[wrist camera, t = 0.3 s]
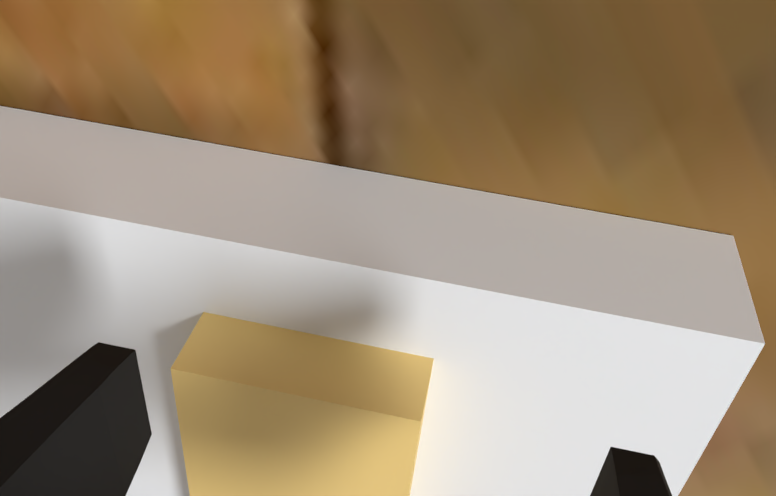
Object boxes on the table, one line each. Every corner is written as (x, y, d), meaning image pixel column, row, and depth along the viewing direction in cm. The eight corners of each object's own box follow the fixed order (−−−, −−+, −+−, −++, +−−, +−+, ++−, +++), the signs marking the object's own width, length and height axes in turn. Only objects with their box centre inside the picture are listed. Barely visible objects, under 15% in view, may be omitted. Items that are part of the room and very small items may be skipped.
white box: (594, 528, 28) (597, 635, 25) (53, 408, 30) (-7, 492, 27) (733, 235, 19) (765, 343, 16) (-45, 97, 21) (-150, 168, 18)
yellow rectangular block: (400, 549, 24) (388, 609, 22) (223, 508, 24) (200, 564, 23) (433, 358, 18) (420, 421, 17) (203, 311, 19) (170, 368, 17)
